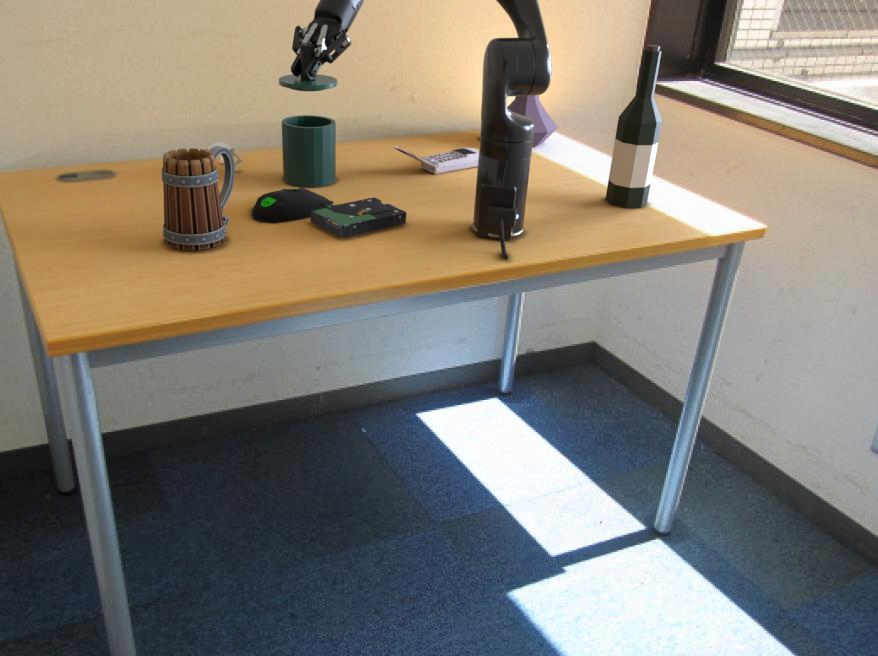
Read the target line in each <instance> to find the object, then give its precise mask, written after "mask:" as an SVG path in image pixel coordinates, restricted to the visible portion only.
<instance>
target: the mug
mask: <svg viewBox="0 0 878 656" xmlns="http://www.w3.org/2000/svg"><path fill="white" fill-rule="evenodd" d="M221 155H222V156H223V158H222V160H223V162H224V163H223V164H224V176H223V182H222V187H221V189H220V188H219V182H218V181H219V175H220V173H219V172H218V167H217V166H216V160H217V158H218V157H219V156H221ZM235 162H236V161H235V158H234V155H233V154H232V153H231V151H230V150H229V149H227V148H225V147H221V146H214V147H212V148H211V149H210V150H209V151H208V152H207V150H206V149H204V148H195V147H191V148H189V149H188V150H187V148H183V147H182V148H178V149H171V150H168V152H167V151H166V152H165V153H163V156H162V168H161V181H162V183H163V224H162V236H163V238H164V242H165V244H166V245H167V246H169V247H170V248H172V249H174V250H177V251H182V252H203V251H204V252H205V251H209V250H213V249H217V248H218V247H220V246H221V245H222V244H223V243H224V242H225V241H226V238H227V237H226V235H227V230H226V227H227V226H228V224H229V222H230V215H226V214H223V211H224V209H225V207H226V205H227V203H228V202H229V199H230V196H231V194H232V192H233V189H234V184H235V178H236V177H235V175H236V170H235V169H236V166H235Z"/></svg>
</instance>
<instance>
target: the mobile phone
mask: <svg viewBox="0 0 878 656" xmlns="http://www.w3.org/2000/svg"><path fill="white" fill-rule="evenodd" d="M393 147H394V149H395V150H396V151H398V152H400V153H402V154H404V155H406V156H408V157H410V158H412V159H414V160H415V161H417V162H420V166H421V169H423V170H425V171H426V172H429V173H432V174H433V175H437V174H444V173H449V172H454V171H455V172H456V171H460V170H466V169H471V168H476V167H478V158H479V149H478V148H473V147H460V148H459V147H458V148H454V149H452V150H451V151H447V152H441V153H436V154H432V155H427V156H421V157H420V156H418V155H416V154H415V153H413V152H409V151H406V150H404V149H403V148H402V149H401V147H398V146H397V145H394V146H393Z"/></svg>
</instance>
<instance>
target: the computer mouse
mask: <svg viewBox="0 0 878 656" xmlns="http://www.w3.org/2000/svg"><path fill="white" fill-rule="evenodd" d="M255 201H256V202H255V203H254V205H253V207H252V209H251V217H252V220H254V221H257V222H259V223H265V224H266V223H267V224H280V223H281V224H282V223H289V222H294V221H300V220H304V219H305V220H306V219H308V218H310V210H314V209H319V208H323V207H329V206H333V205H334V201H333V200H330V199H328V198H327V197H325V196H324V195H321V194H319V193H317V192H314V191H312V190H310V189H307V188H306V187H298V188H282V189H279V190H274V191H269V192H267V193H264V194H262V195H260V196H258V197H257V199H256V200H255Z"/></svg>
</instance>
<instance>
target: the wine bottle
mask: <svg viewBox="0 0 878 656" xmlns="http://www.w3.org/2000/svg"><path fill="white" fill-rule="evenodd" d="M662 52H663V51H662V50H661V46H660V45H658V44H646V45H645V48H644V49H642V54H641V61H640V66H639V72H638V78H637V85H636V90H635V95H634V97H632V99H631V101H629V103H628V104H627V105H626V107H625V108H624V110H622V112H621V113H620V114H619V116H618V118H617V119H618V120H617V125H616V130H615V132H616V133H615V137H614V144H613V150H612V156H611V161H610V167H609V173H608V174H609V175H608V180H607V187H606V193H605V199H604V200H605V201H606V202H607V203H608V204H609V205H612V206H616V207H619V208H624V209H641V208H643V207H645V206H646V205H647V204H648V199H649V195H650V188H651V183H652V178H653V173H654V167H655V162H656V157H657V151H658V147H659V146H658V145H659V140H660V136H661V131H662V124H663V118H662V116H661V113H660V110H659V108H658V105H657V103H656V102H657V101H656V100H655V98H654V96H655V90H656V85H657V79H658V75H659V68H660V63H661V57H662Z"/></svg>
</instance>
